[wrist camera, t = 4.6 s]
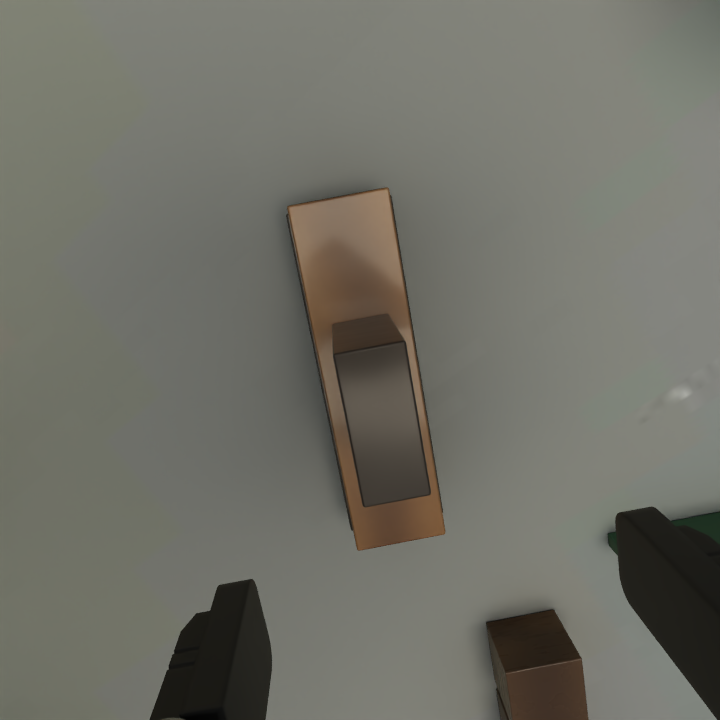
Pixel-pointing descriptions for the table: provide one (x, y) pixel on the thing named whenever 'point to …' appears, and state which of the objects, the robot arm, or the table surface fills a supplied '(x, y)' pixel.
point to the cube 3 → (537, 668)
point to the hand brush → (368, 365)
